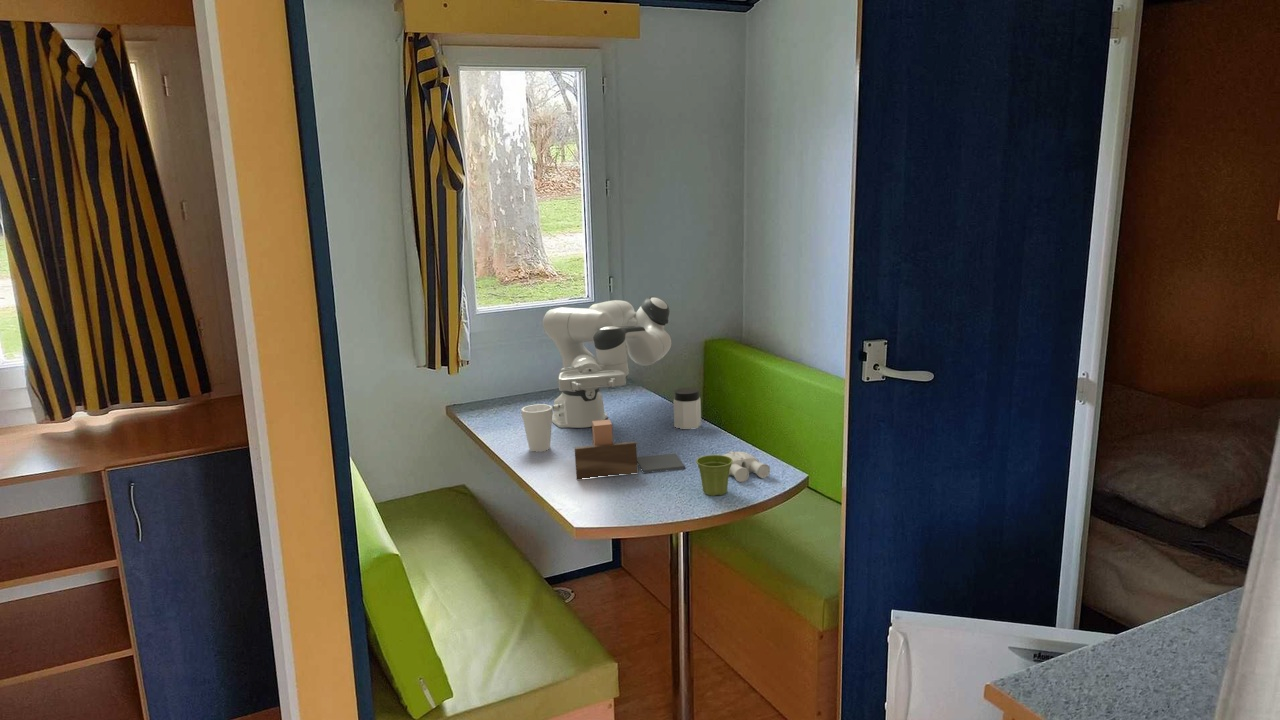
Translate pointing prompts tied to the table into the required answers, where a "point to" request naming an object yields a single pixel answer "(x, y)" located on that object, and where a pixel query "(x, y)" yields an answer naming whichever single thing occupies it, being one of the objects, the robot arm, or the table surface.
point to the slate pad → (660, 462)
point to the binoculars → (746, 466)
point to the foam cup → (538, 426)
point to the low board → (606, 460)
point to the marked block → (602, 432)
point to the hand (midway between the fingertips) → (595, 386)
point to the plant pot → (714, 473)
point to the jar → (687, 408)
